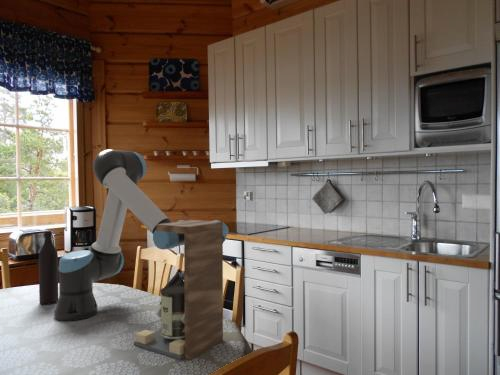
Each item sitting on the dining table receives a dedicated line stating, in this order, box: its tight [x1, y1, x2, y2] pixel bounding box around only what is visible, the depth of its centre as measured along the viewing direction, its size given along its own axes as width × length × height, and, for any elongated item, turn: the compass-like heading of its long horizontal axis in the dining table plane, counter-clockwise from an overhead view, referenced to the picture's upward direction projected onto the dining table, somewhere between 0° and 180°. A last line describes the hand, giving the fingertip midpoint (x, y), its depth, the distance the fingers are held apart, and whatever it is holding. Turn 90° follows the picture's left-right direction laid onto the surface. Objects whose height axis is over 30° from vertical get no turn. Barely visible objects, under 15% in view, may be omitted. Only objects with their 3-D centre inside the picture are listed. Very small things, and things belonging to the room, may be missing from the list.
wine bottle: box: [38, 230, 59, 305], centre depth 165 cm, size 7×7×30 cm
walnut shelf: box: [156, 219, 224, 360], centre depth 123 cm, size 13×16×38 cm
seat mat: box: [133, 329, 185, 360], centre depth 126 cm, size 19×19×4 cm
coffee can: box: [160, 285, 185, 339], centre depth 126 cm, size 10×10×14 cm
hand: (170, 319), depth 123 cm, fingers closed on coffee can, 10 cm apart
